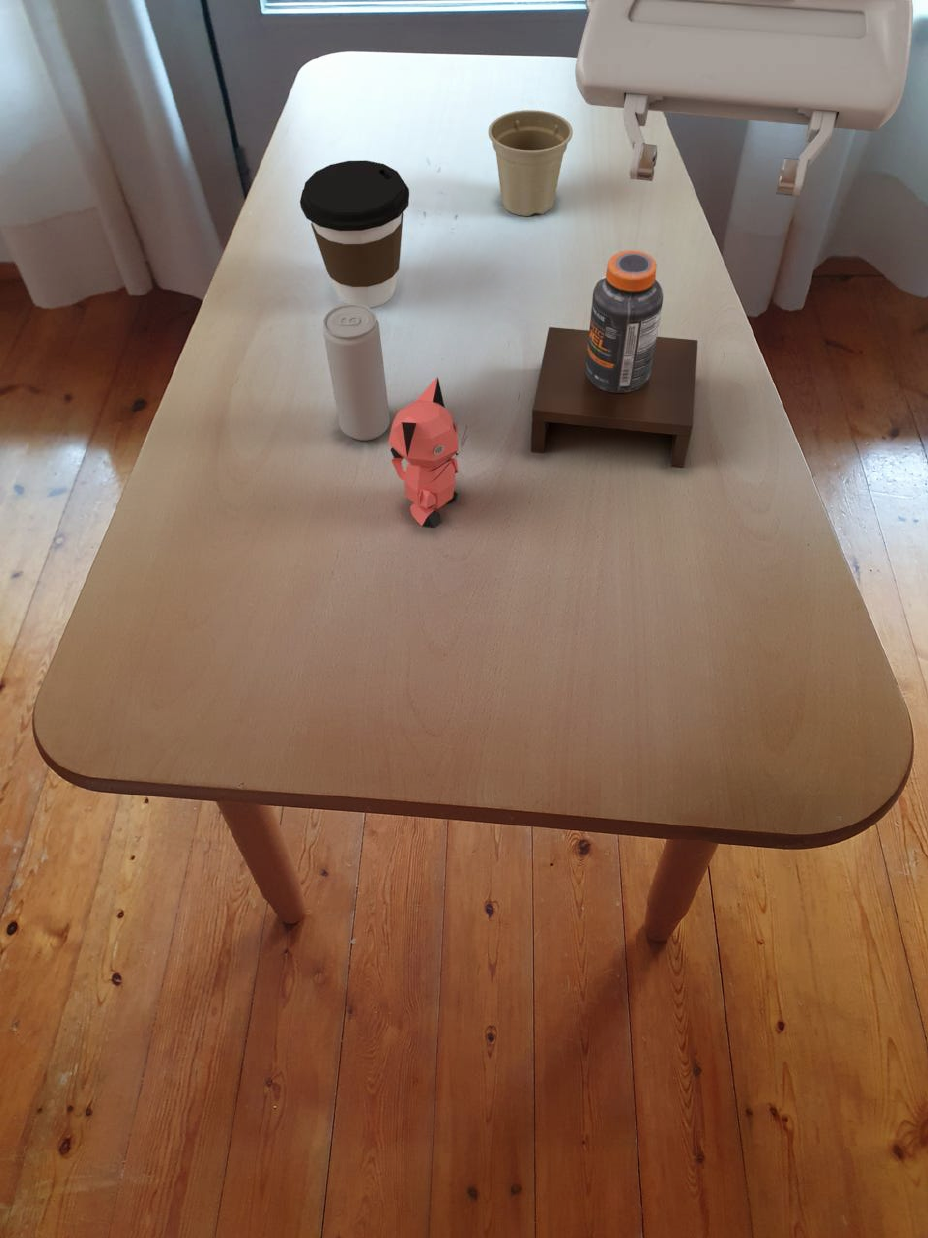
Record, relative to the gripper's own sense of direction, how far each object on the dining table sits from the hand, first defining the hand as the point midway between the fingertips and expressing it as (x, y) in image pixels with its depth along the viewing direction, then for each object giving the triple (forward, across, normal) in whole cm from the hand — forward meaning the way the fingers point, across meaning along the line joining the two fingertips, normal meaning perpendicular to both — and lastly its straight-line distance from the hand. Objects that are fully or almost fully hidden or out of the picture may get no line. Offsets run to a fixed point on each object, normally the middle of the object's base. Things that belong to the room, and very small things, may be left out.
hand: (713, 185), depth 61 cm
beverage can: (+18, -28, +21) cm, 40 cm away
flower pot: (-11, -22, +51) cm, 56 cm away
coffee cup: (+4, -35, +36) cm, 50 cm away
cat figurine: (+24, -19, +16) cm, 35 cm away
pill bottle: (+10, -6, +23) cm, 26 cm away
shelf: (+14, -6, +26) cm, 30 cm away
